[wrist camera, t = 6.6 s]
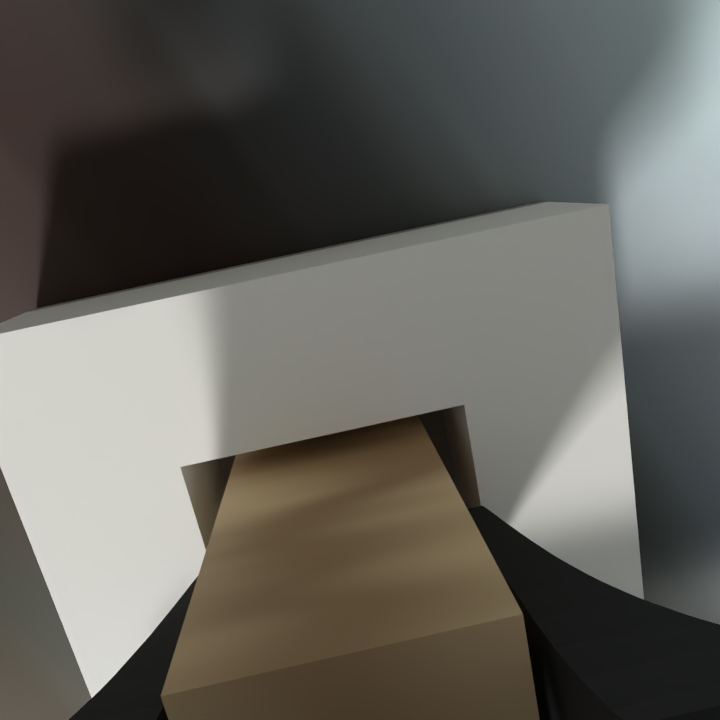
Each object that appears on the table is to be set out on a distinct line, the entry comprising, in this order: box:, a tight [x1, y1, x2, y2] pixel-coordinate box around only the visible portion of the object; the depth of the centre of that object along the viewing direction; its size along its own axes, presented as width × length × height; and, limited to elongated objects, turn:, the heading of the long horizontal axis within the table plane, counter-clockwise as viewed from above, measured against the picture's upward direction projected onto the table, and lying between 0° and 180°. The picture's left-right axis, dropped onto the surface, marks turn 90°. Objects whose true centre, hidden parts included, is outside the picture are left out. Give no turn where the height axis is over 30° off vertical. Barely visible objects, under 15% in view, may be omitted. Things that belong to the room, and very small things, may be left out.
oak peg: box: [161, 415, 540, 720], centre depth 11 cm, size 4×4×8 cm
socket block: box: [0, 201, 644, 698], centre depth 14 cm, size 12×12×4 cm
